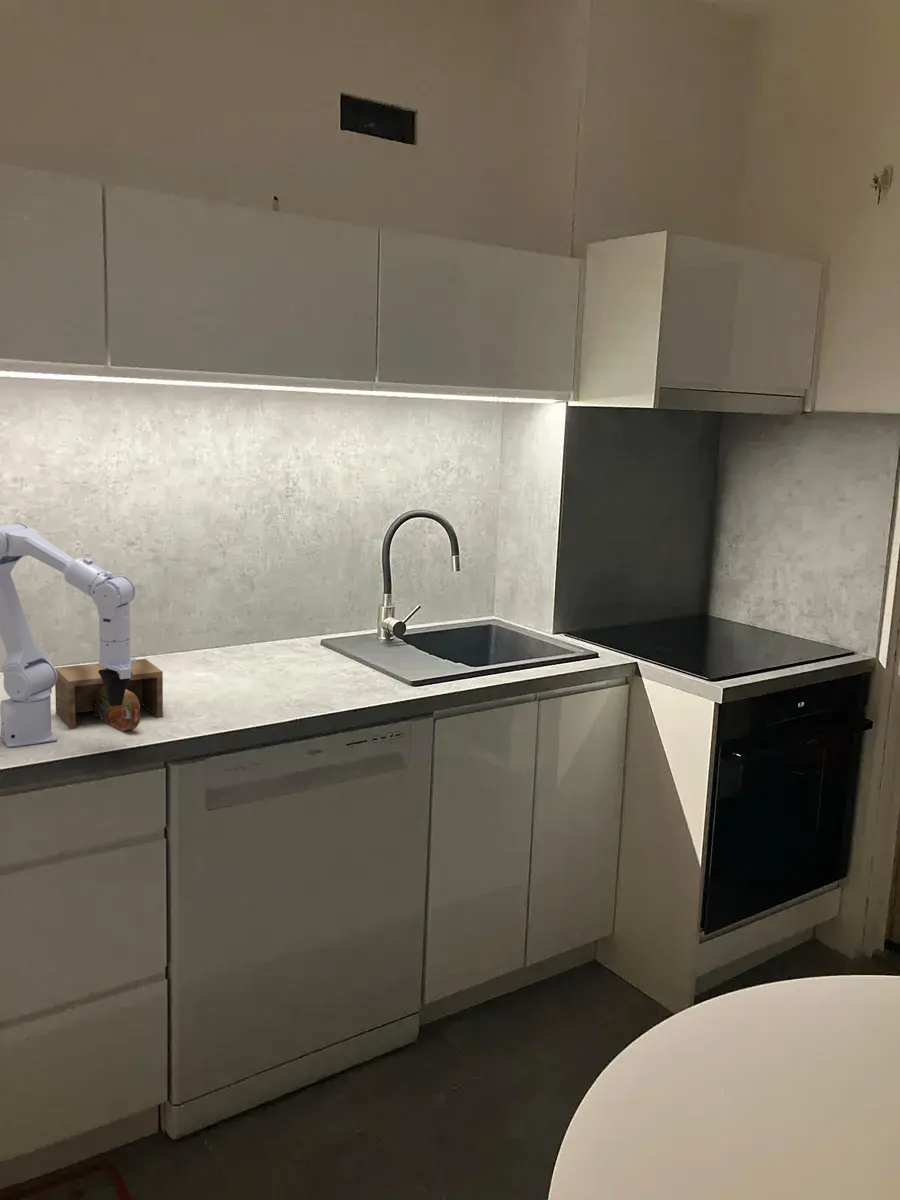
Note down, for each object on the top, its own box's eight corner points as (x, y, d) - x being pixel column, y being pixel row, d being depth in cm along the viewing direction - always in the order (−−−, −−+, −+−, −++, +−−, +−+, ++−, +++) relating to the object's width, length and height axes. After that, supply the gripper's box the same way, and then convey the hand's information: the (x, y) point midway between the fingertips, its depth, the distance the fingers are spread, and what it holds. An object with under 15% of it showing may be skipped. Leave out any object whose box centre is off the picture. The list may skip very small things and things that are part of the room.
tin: (96, 718, 222) (95, 681, 221) (109, 715, 224) (108, 679, 223) (129, 736, 212) (128, 697, 210) (143, 733, 214) (142, 695, 212)
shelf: (69, 729, 214) (68, 681, 212) (55, 713, 224) (54, 667, 222) (162, 717, 225) (162, 671, 223) (145, 702, 235) (145, 658, 233)
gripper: (146, 645, 195) (147, 712, 198) (124, 629, 207) (125, 693, 209) (109, 648, 191) (110, 717, 194) (89, 632, 203) (90, 697, 205)
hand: (115, 705), depth 201 cm, fingers closed
